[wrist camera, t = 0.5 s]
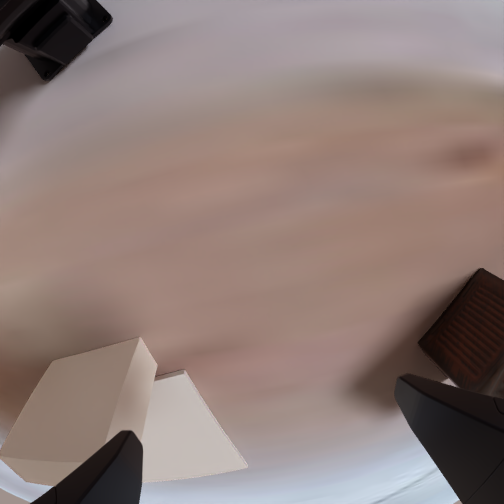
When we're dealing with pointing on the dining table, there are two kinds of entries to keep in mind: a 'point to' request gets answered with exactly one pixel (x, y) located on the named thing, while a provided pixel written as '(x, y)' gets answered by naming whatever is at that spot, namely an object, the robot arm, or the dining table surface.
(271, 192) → the dining table surface
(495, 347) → the dark brown boxy piece
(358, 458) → the dining table surface
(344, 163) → the dining table surface
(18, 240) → the dining table surface
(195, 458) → the mat
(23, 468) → the beige rectangular block
